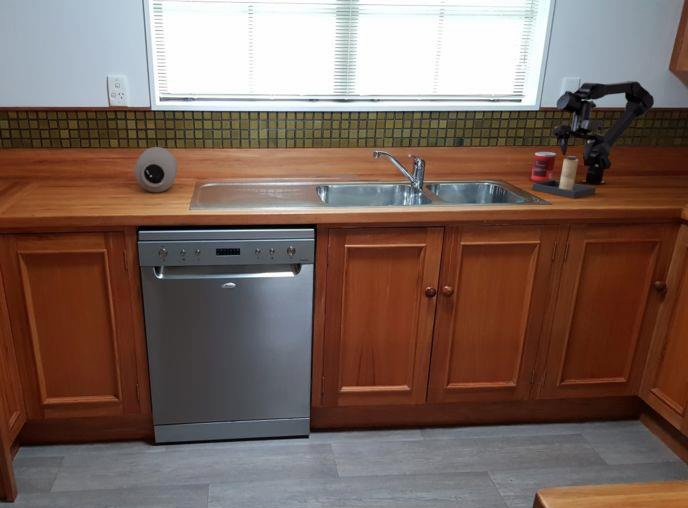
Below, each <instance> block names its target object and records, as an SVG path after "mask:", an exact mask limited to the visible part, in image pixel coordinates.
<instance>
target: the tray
mask: <svg viewBox="0 0 688 508" xmlns="http://www.w3.org/2000/svg"><path fill="white" fill-rule="evenodd" d="M559 184H560V180H559V179H558V180H557V179H551V180H550V181H544V182H535V183H532V189H531V190H532V191H535V192H541V193H547V194H551V195H556V196H560V197H566V198H569V199H570V198H571V199H578V198H582V197H587V196H592V195H595V194H596V191H597V187H595V186H590V185H584V184H579V183H575V182H574V186H573V191H571V190H565V189H560V188H559Z"/></svg>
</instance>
